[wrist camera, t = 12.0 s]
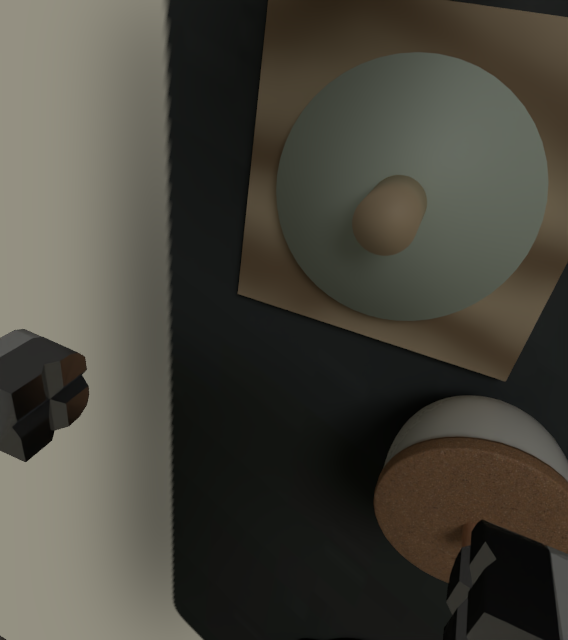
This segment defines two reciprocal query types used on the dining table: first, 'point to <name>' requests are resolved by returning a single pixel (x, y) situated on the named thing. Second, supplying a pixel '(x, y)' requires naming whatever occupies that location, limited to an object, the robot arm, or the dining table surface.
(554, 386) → the dining table surface
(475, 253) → the lid
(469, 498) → the lidded jar
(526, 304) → the plate
